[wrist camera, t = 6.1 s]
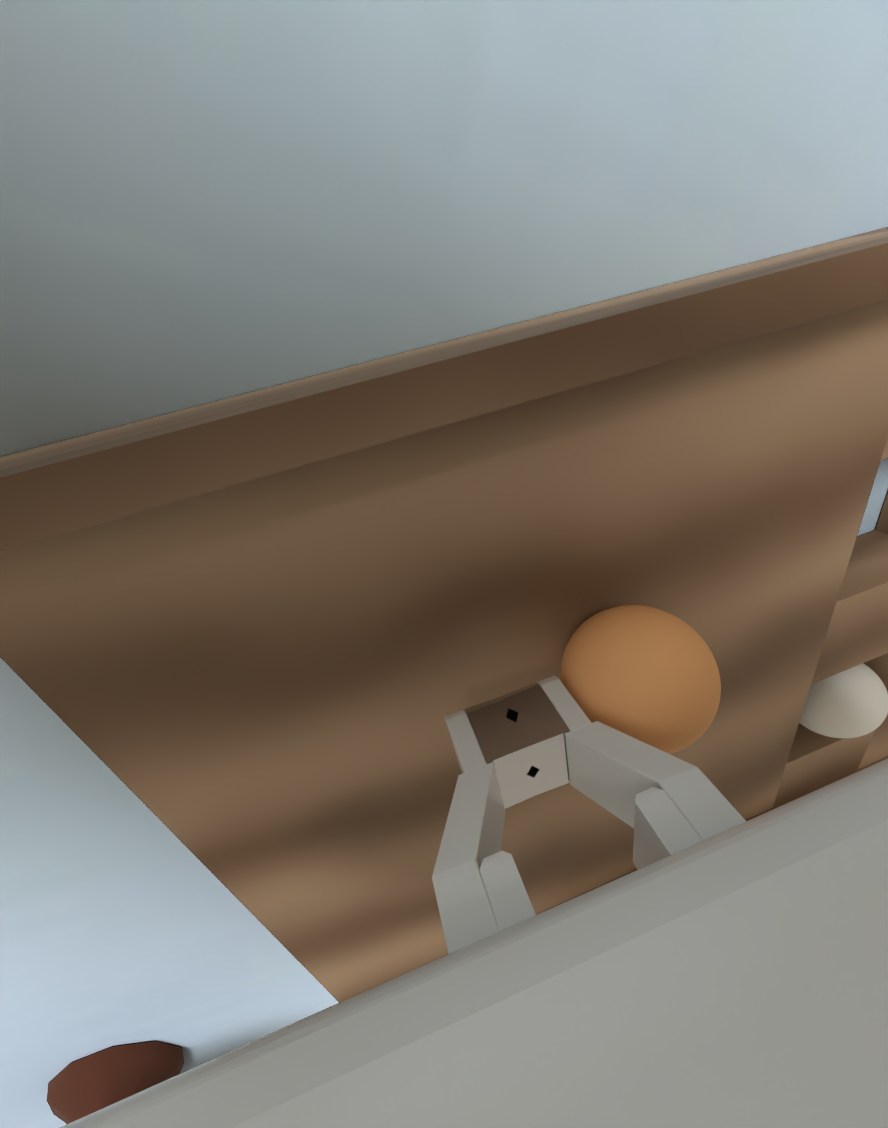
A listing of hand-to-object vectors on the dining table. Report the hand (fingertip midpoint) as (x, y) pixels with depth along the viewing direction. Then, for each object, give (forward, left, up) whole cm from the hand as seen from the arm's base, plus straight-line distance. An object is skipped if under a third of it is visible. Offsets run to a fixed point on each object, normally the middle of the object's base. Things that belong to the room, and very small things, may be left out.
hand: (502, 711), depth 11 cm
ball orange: (0, +3, +1) cm, 3 cm away
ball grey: (+9, +15, -2) cm, 17 cm away
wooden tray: (+4, +7, -4) cm, 9 cm away
